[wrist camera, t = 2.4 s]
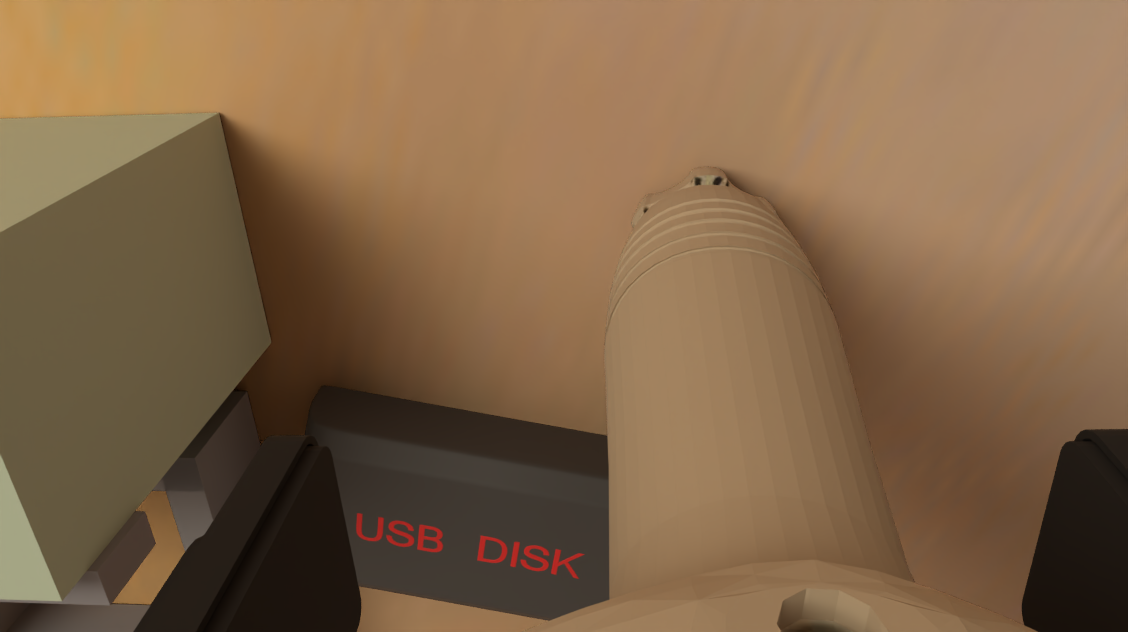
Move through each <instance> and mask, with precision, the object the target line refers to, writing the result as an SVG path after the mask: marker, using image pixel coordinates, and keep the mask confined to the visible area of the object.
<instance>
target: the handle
mask: <svg viewBox="0 0 1128 632" xmlns="http://www.w3.org/2000/svg"><path fill="white" fill-rule="evenodd" d="M631 224H632V227H633V228H634V229H633V231H632V232H631V234H630V236H629V238H628V240H627V242H626V244H625V247H624V249H623V252H622V254H621V256H620V260H619V263H618V266H617V270H616V273H615V277H614V281H613V285H612V288H611V292H610V297H609V304H608V313H607V322H606V333H605V349H604V363H605V387H606V412H607V437H608V462H609V597H610V600H607V601H604V602H601V603H598V604H594V605H591V606H588V607H585V608H582V609H579V610H577V611H574V612H571V613H569V614H566V615H563V616H561V617H558V618H555V619H553V620H550V621H548V622H545V623H542V624H540V625H537V626H534V627H532V628H529V629H527V630H524V631H522V632H1038V631H1035V630H1033V629H1031V628H1029V627H1027V626H1024V625H1022V624H1020V623H1018V622H1016V621H1013V620H1011V619H1009V618H1007V617H1004V616H1002V615H1000V614H997V613H995V612H992V611H990V610H987V609H985V608H982V607H979V606H977V605H974V604H972V603H969V602H967V601H964V600H961V599H959V598H956V597H954V596H951V595H949V594H946V593H943V592H941V591H938V590H935V589H932V588H929V587H926V586H923V585H919V584H916V583H915V581H914V579H913V577H912V575H911V573H910V571H909V568H908V565H907V562H906V559H905V555H904V552H903V549H902V546H901V543H900V539H899V536H898V533H897V530H896V526H895V523H894V520H893V517H892V514H891V510H890V507H889V504H888V501H887V497H886V494H885V491H884V488H883V484H882V481H881V478H880V475H879V472H878V468H877V465H876V462H875V459H874V455H873V452H872V449H871V446H870V442H869V438H868V435H867V431H866V427H865V424H864V420H863V416H862V413H861V409H860V405H859V402H858V398H857V394H856V391H855V387H854V383H853V380H852V376H851V372H850V369H849V365H848V361H847V358H846V354H845V350H844V347H843V343H842V339H841V336H840V332H839V328H838V325H837V322H836V319H835V316H834V314H833V312H832V308H831V306H830V303H829V301H828V298H827V296H826V294H825V291H824V289H823V287H822V285H821V282H820V280H819V278H818V276H817V274H816V272H815V270H814V269H813V267H812V265H811V263H810V261H809V260H808V258H807V256H806V255H805V253H804V252H803V250H802V248H801V247H800V245H799V244H798V242H797V241H796V239H795V238H794V236H793V235H792V234H791V233H790V231H789V230H788V229H787V228H786V226H785V225H784V224H783V223H782V221H781V220H780V218H779V216H778V214H777V212H776V211H775V209H774V208H773V206H772V205H771V204H770V203H769V202H768V201H767V200H766V199H765V198H763V197H755V196H752V195H750V194H748V193H746V192H743V191H741V190H739V189H738V188H737V187H735V186H734V185H733V184H732V183H731V182H730V181H729V180H728V179H727V177H726V175H725V173H724V172H723V171H722V170H721V169H718V168H714V167H698V168H694V169H692V170H691V171H690V173H689V176H687V177H686V178H685V179H684V180H683V181H682V182H680V183H679V184H677V185H676V186H674V187H673V188H670V189H668V190H666V191H663V192H660V193H656V194H647V195H645V197H644V198H643V200H642V201H641V203H640V204H639V206H638V207H637V209H636V211H635V213H634V216H633V219H632V222H631Z"/></svg>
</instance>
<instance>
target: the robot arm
mask: <svg viewBox="0 0 1128 632" xmlns="http://www.w3.org/2000/svg"><path fill="white" fill-rule="evenodd" d="M360 616H361V596H360V591H359V586H358V581H357V576H356V571H355V566H354V561H353V556H352V551H351V546H350V541H349V537H348V532H347V527H346V522H345V517H344V512H343V507H342V502H341V497H340V492H339V487H338V482H337V477H336V472H335V467H334V462H333V457H332V454H331V451H330V449H329V447H327V446H319V445H318V442H317V440H316V439H315V437H313V436H311V435H280V436H269V437H267V438H266V439H265V441H264V442H263V443H262V445H261V447H260V448H259V450H258V451H257V453H256V454H255V456H254V457H253V459H252V461H251V462H250V464H249V465H248V467H247V468H246V470H245V472H244V473H243V475H242V476H241V478H240V479H239V481H238V483H237V484H236V486H235V487H234V489H233V490H232V492H231V494H230V495H229V497H228V498H227V500H226V501H225V503H224V504H223V506H222V508H221V509H220V511H219V512H218V514H217V515H216V517H215V519H214V520H213V522H212V523H211V525H210V526H209V528H208V530H207V531H206V533H205V534H204V535H203V536H201V537H199V538H197V539H195V540H194V541H193V543H192V544H191V545H190V546H189V547H188V548H187V550H186V551H185V553H184V555H183V556H182V558H181V559H180V561H179V562H178V564H177V565H176V567H175V568H174V570H173V571H172V573H171V575H170V576H169V578H168V579H167V581H166V582H165V584H164V585H163V587H162V588H161V590H160V591H159V593H158V595H157V596H156V598H155V599H154V601H153V602H152V604H151V605H150V607H149V608H148V610H147V611H146V613H145V615H144V616H143V618H142V619H141V621H140V622H139V624H138V625H137V627H136V628H135V630H134V631H133V632H357V629H358V626H359V622H360ZM1022 616H1023V621H1024V625H1025V626H1027V627H1029V628H1031V629H1033V630H1035V631H1038V632H1128V429H1100V430H1084V431H1081V432H1080V433H1079V434H1078V435H1077V436H1076V439H1075V441H1069V442H1066V443H1065V444H1064V445H1063V447H1062V449H1061V452H1060V456H1059V460H1058V463H1057V467H1056V471H1055V475H1054V479H1053V483H1052V487H1051V491H1050V495H1049V499H1048V502H1047V506H1046V510H1045V514H1044V518H1043V522H1042V526H1041V530H1040V534H1039V538H1038V542H1037V545H1036V549H1035V553H1034V557H1033V561H1032V565H1031V569H1030V573H1029V577H1028V581H1027V585H1026V588H1025V592H1024V596H1023V601H1022Z"/></svg>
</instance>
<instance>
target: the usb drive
mask: <svg viewBox="0 0 1128 632" xmlns="http://www.w3.org/2000/svg"><path fill="white" fill-rule="evenodd" d="M305 435H311V436H313V437H315V439H316V440H317V442H318V445H319V446H327V447H329V449H330V451H331V454H332V457H333V462H334V467H335V472H336V477H337V482H338V487H339V492H340V497H341V502H342V507H343V512H344V517H345V522H346V527H347V532H348V537H349V541H350V546H351V551H352V556H353V561H354V566H355V571H356V576H357V581H358V586H361V587H367V588H372V589H378V590H383V591H389V592H394V593H400V594H405V595H411V596H416V597H422V598H427V599H433V600H438V601H444V602H449V603H455V604H460V605H466V606H471V607H477V608H482V609H488V610H493V611H499V612H504V613H510V614H515V615H521V616H526V617H532V618H537V619H543V620H548V621H550V620H553V619H555V618H558V617H561V616H563V615H566V614H569V613H571V612H574V611H577V610H579V609H582V608H585V607H588V606H591V605H594V604H598V603H601V602H604V601H607V600H610V597H609V462H608V437H607V436H605V435H600V434H594V433H589V432H583V431H577V430H572V429H566V428H561V427H555V426H550V425H544V424H539V423H533V422H527V421H522V420H516V419H511V418H505V417H500V416H494V415H489V414H483V413H477V412H472V411H466V410H461V409H455V408H450V407H444V406H439V405H433V404H427V403H422V402H416V401H411V400H405V399H400V398H394V397H389V396H383V395H377V394H372V393H366V392H361V391H355V390H349V389H344V388H338V387H332V386H325V385H324V386H321V387H320V389H319V391H318V392H317V394H316V395H315V397H314V399H313V401H312V403H311V406H310V409H309V414H308V420H307V425H306V431H305Z"/></svg>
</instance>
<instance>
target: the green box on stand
mask: <svg viewBox="0 0 1128 632" xmlns="http://www.w3.org/2000/svg"><path fill="white" fill-rule="evenodd" d="M270 344H271V338H270V334H269V329H268V325H267V321H266V316H265V312H264V308H263V303H262V299H261V294H260V290H259V286H258V281H257V277H256V273H255V268H254V264H253V259H252V255H251V251H250V246H249V242H248V238H247V233H246V229H245V224H244V220H243V216H242V211H241V207H240V203H239V198H238V194H237V190H236V185H235V181H234V176H233V172H232V168H231V163H230V159H229V155H228V150H227V146H226V141H225V137H224V133H223V128H222V124H221V120H220V115H219V113H189V114H152V115H115V116H78V117H40V118H3V119H0V632H133V631H134V630H135V628H136V627H137V625H138V624H139V622H140V621H141V619H142V618H143V616H144V615H145V613H146V611H147V610H148V608H149V607H150V605H131V604H112V602H113V601H114V600H115V598H116V597H117V596H118V594H119V593H120V592H121V590H122V589H123V588H124V586H125V585H126V584H127V582H128V581H129V579H130V578H131V577H132V575H133V574H134V573H135V571H136V570H137V569H138V567H139V566H140V565H141V563H142V562H143V560H144V559H145V558H146V556H147V555H148V554H149V552H150V551H151V550H152V548H153V547H154V546H155V544H156V543H155V540H154V537H153V534H152V531H151V528H150V525H149V522H148V519H147V516H146V513H145V511H136V509H137V508H138V507H139V506H140V504H141V503H142V502H143V501H144V499H145V498H146V497H147V496H148V495H149V493H150V492H151V491H166V493H167V497H168V500H169V503H170V506H171V509H172V512H173V515H174V518H175V521H176V525H177V528H178V531H179V534H180V537H181V540H182V543H183V546H184V550H185V551H186V550H187V548H188V547H189V546H190V545H191V544H192V543H193V541H194V540H195V539H197V538H199V537H201V536H203V535H204V534H205V533H206V531H207V530H208V528H209V526H210V525H211V523H212V522H213V520H214V519H215V517H216V515H217V514H218V512H219V511H220V509H221V508H222V506H223V504H224V503H225V501H226V500H227V498H228V497H229V495H230V494H231V492H232V490H233V489H234V487H235V486H236V484H237V483H238V481H239V479H240V478H241V476H242V475H243V473H244V472H245V470H246V468H247V467H248V465H249V464H250V462H251V461H252V459H253V457H254V456H255V454H256V453H257V451H258V450H259V448H260V447H261V445H260V441H259V437H258V433H257V429H256V425H255V421H254V417H253V413H252V409H251V405H250V401H249V397H248V393H247V391H233V390H234V388H235V387H236V386H237V385H238V383H239V382H240V381H241V380H242V378H243V377H244V376H245V375H246V374H247V372H248V371H249V370H250V369H251V367H252V366H253V365H254V364H255V362H256V361H257V360H258V359H259V357H260V356H261V355H262V354H263V353H264V351H265V350H266V349H267V348H268V346H269V345H270Z"/></svg>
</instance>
